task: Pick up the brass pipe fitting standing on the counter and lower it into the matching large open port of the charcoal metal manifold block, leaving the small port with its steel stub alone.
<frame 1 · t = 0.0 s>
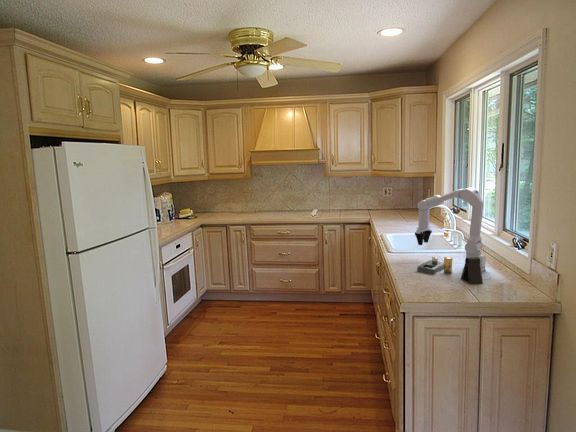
hand: (423, 243, 229), 10 cm above the countertop, tool pointing down, fingers open, 7 cm apart
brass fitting: (447, 272, 208), on the countertop
phone stand: (471, 281, 194), on the countertop
manifold: (431, 269, 214), on the countertop
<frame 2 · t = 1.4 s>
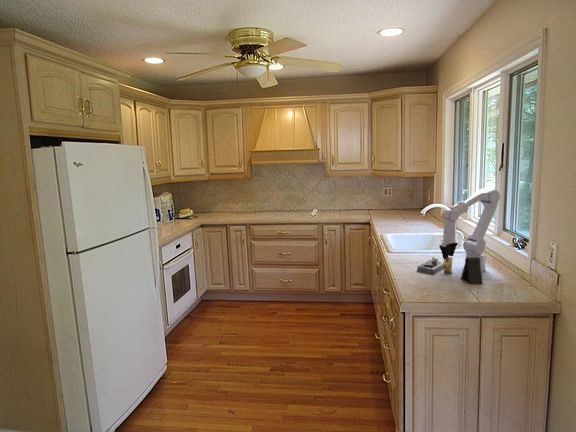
hand: (448, 257, 206), 8 cm above the countertop, tool pointing down, fingers open, 7 cm apart
nothing on the countertop moved.
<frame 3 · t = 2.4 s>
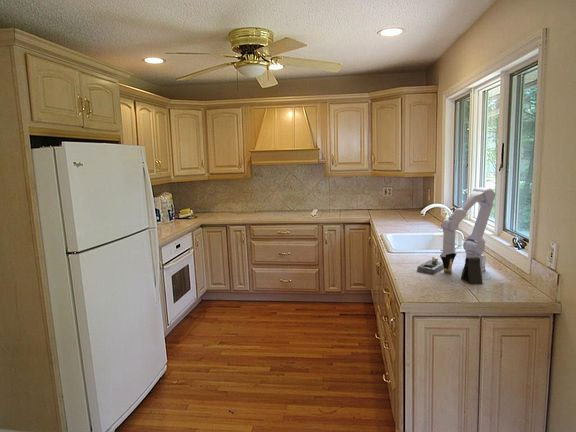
hand: (447, 267, 207), 3 cm above the countertop, tool pointing down, fingers closed on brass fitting, 4 cm apart
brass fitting: (447, 272, 208), on the countertop, touching gripper
everything else where it was.
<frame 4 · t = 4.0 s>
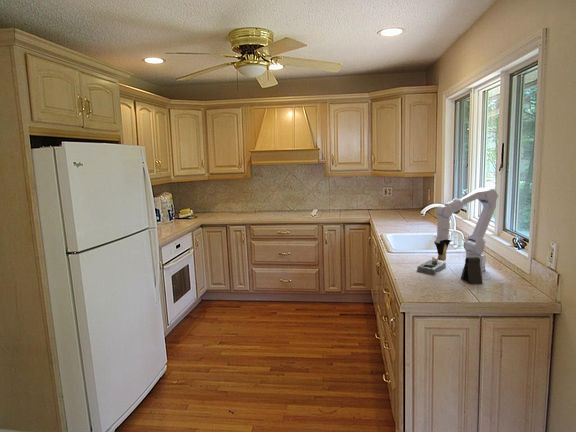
hand: (441, 253, 207), 10 cm above the countertop, tool pointing down, fingers closed on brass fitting, 4 cm apart
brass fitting: (441, 259, 208), point 7 cm above the countertop, touching gripper
everything else where it was.
when the fingers open (4 cm above the countertop, at t = 5.8 s): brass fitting drops 1 cm, resting in manifold.
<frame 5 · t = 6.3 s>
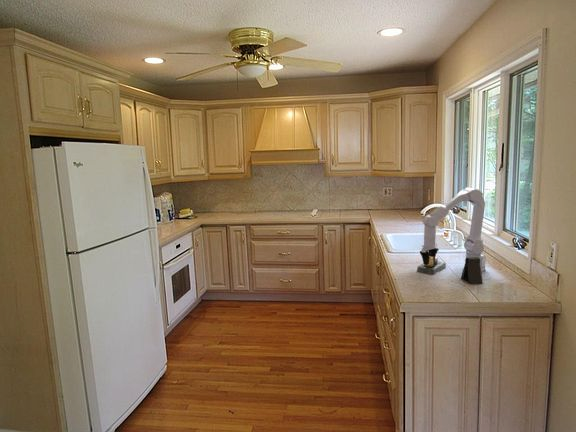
hand: (428, 262, 211), 4 cm above the countertop, tool pointing down, fingers open, 7 cm apart
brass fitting: (428, 270, 211), resting in manifold
everything else where it was.
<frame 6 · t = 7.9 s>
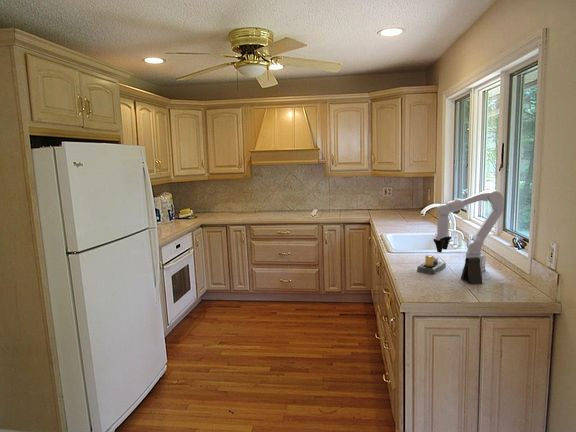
hand: (442, 250, 216), 9 cm above the countertop, tool pointing down, fingers open, 7 cm apart
nothing on the countertop moved.
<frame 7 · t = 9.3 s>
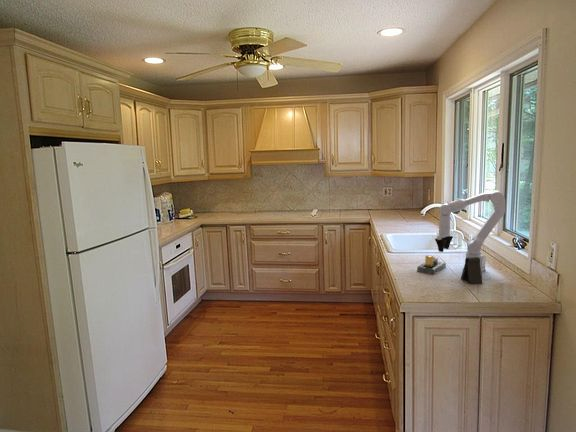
hand: (443, 250, 217), 9 cm above the countertop, tool pointing down, fingers open, 7 cm apart
nothing on the countertop moved.
at the end: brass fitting 0.2 cm from the target spot on the manifold, point 0.0 cm above the manifold's base; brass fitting tilted 0°; the gripper is holding nothing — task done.
